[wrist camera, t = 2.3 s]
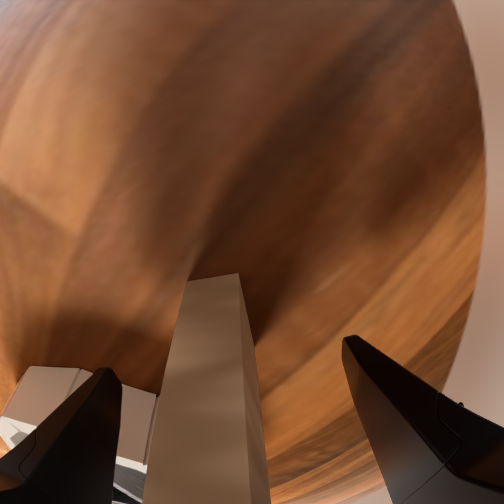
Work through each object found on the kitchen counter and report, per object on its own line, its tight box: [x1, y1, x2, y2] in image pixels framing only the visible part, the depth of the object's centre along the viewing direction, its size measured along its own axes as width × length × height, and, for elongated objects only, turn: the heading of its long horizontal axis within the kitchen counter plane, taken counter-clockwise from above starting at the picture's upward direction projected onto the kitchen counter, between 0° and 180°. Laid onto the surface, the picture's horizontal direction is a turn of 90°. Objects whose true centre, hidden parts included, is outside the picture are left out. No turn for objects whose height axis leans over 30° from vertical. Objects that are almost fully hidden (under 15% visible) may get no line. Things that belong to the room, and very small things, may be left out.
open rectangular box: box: [112, 464, 146, 504], centre depth 12 cm, size 5×8×3 cm, turn 9°
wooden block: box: [142, 273, 271, 504], centre depth 7 cm, size 2×4×8 cm, turn 9°
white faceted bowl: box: [0, 366, 160, 504], centre depth 13 cm, size 16×16×4 cm
